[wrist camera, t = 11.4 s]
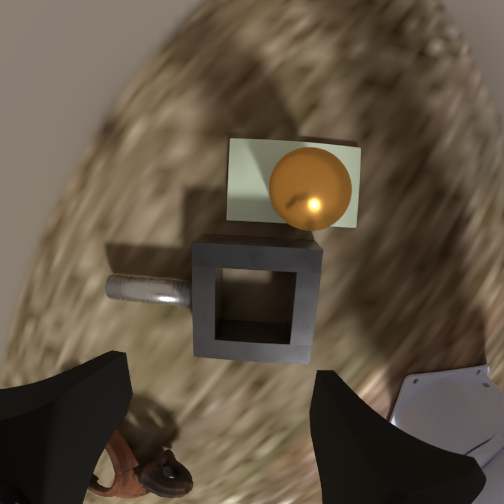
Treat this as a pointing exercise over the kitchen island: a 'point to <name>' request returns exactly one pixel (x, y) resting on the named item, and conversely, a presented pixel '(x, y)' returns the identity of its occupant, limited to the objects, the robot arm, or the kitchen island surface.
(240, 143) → the mat
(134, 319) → the kitchen island surface
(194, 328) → the grey square with handle
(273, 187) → the metal cylinder
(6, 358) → the kitchen island surface
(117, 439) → the brown looped band
